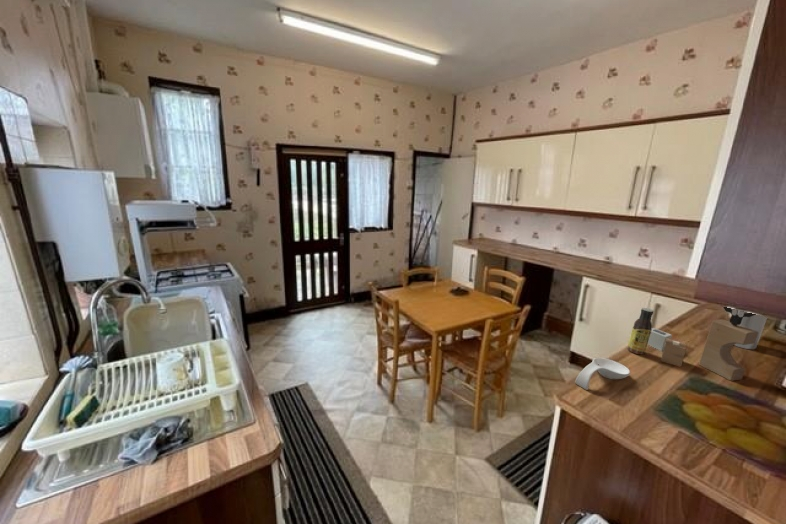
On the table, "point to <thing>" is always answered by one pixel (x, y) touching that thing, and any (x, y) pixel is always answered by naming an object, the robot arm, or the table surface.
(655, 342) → the grey marked block
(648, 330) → the sauce bottle
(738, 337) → the decorative block
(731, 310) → the robot arm
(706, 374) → the table surface
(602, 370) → the spoon rest
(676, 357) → the walnut marked block
